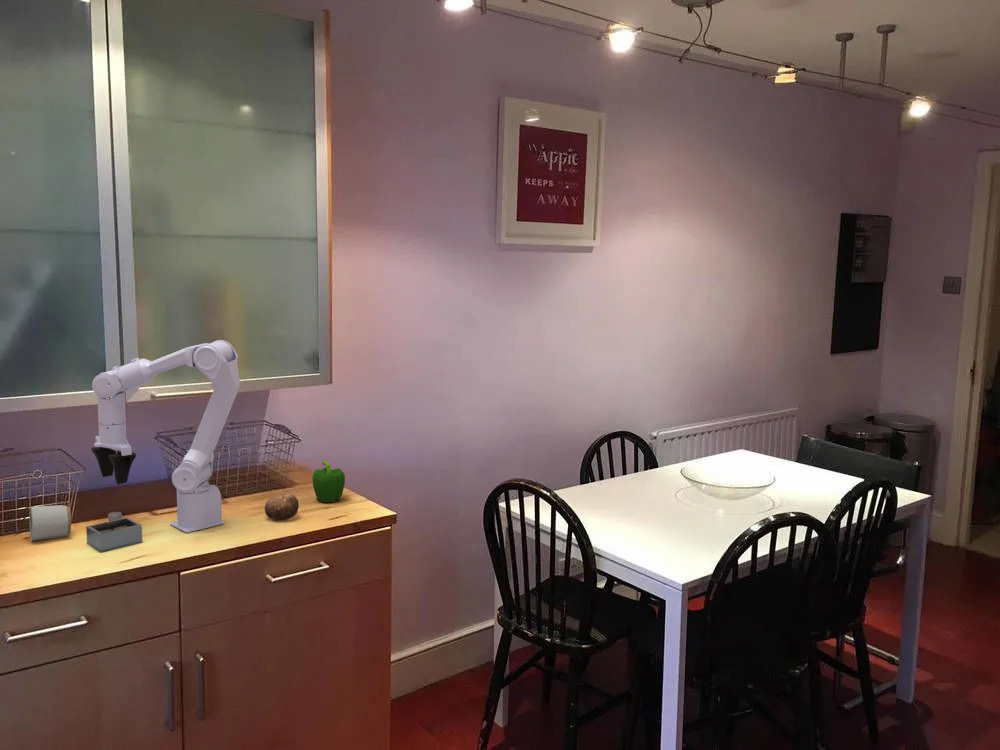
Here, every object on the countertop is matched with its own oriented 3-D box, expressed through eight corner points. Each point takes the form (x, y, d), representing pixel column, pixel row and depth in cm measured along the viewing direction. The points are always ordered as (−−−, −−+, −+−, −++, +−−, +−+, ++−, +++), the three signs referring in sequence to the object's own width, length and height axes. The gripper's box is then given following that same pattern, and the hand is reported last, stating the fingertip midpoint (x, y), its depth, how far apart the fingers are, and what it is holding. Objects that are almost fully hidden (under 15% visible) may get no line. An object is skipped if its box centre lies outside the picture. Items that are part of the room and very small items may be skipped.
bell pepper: (347, 503, 216) (348, 466, 214) (315, 506, 213) (315, 468, 211) (341, 494, 224) (341, 457, 222) (310, 496, 220) (310, 459, 219)
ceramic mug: (73, 539, 184) (71, 506, 183) (32, 545, 180) (30, 512, 179) (66, 526, 193) (65, 495, 192) (27, 531, 188) (26, 500, 187)
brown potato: (285, 496, 209) (282, 481, 205) (307, 514, 206) (304, 499, 201) (260, 517, 205) (256, 502, 200) (282, 535, 201) (278, 520, 197)
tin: (128, 534, 189) (127, 517, 188) (142, 542, 184) (141, 524, 183) (87, 543, 182) (86, 526, 181) (100, 552, 177) (100, 534, 177)
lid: (128, 522, 198) (127, 505, 197) (144, 530, 193) (143, 512, 192) (87, 532, 190) (86, 514, 190) (102, 541, 185) (101, 522, 185)
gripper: (81, 419, 194) (83, 476, 196) (108, 430, 184) (110, 489, 187) (111, 415, 199) (114, 470, 201) (139, 426, 190) (141, 483, 192)
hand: (114, 479), depth 194 cm, fingers open, 7 cm apart
